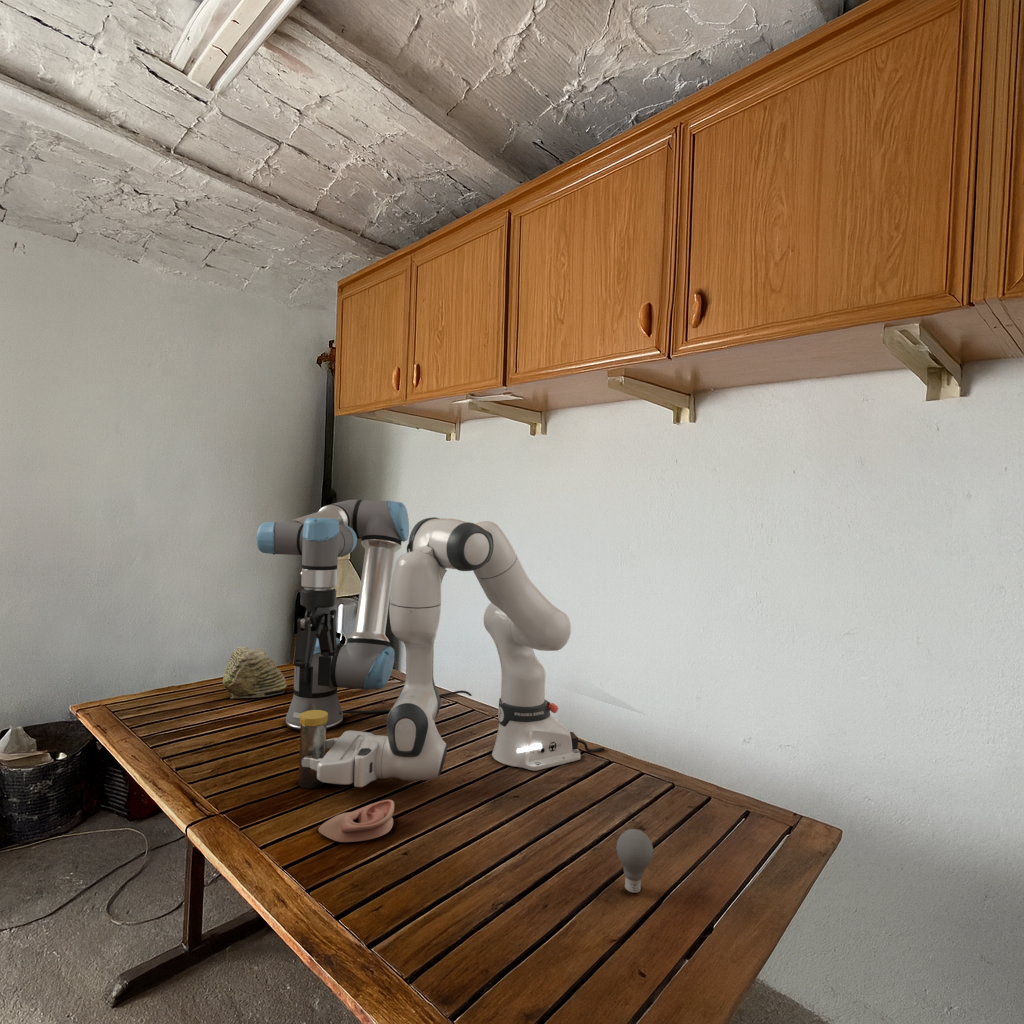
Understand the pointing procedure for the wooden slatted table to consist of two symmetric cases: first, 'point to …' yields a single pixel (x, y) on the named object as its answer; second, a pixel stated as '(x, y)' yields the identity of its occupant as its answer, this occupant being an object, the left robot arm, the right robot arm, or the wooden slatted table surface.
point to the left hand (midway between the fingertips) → (314, 690)
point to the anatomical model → (360, 823)
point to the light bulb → (634, 857)
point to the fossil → (252, 674)
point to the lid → (313, 718)
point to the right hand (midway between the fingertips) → (310, 752)
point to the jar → (311, 753)
